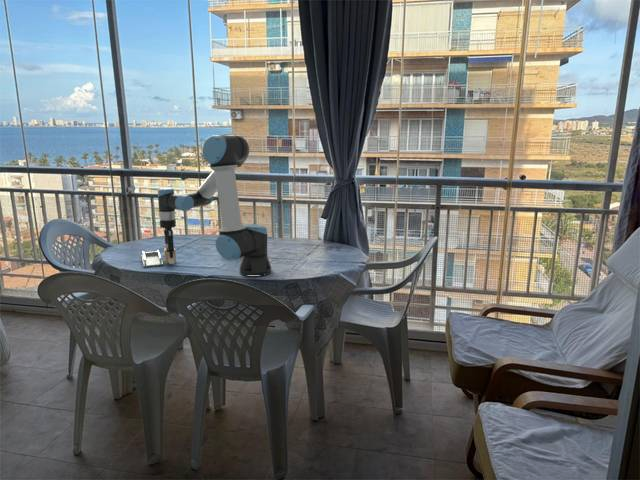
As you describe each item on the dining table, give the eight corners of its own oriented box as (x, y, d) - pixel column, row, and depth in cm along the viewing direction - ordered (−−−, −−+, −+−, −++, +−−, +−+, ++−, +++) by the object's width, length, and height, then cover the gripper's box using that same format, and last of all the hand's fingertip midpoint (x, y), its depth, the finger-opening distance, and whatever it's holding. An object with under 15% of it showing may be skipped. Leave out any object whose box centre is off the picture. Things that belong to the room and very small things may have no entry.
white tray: (163, 265, 218) (162, 259, 217) (143, 267, 215) (143, 260, 214) (159, 254, 236) (159, 248, 235) (141, 256, 232) (141, 250, 231)
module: (176, 262, 224) (175, 248, 222) (165, 263, 222) (164, 249, 220) (175, 260, 227) (174, 246, 225) (165, 261, 225) (164, 247, 223)
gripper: (178, 223, 209) (181, 266, 215) (172, 213, 231) (174, 252, 237) (161, 224, 206) (164, 267, 212) (157, 214, 228) (160, 253, 234)
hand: (170, 259), depth 224 cm, fingers open, 13 cm apart
